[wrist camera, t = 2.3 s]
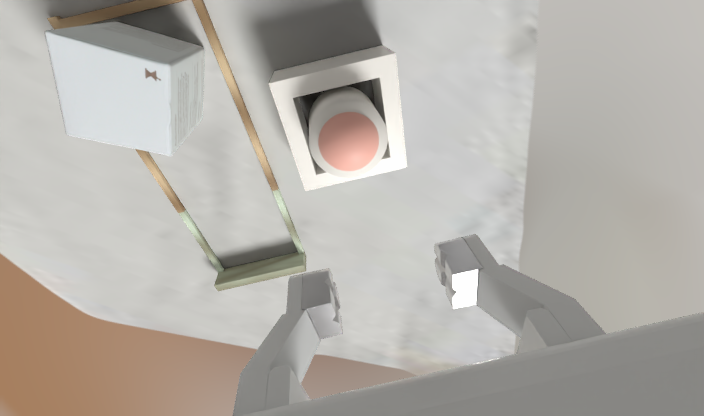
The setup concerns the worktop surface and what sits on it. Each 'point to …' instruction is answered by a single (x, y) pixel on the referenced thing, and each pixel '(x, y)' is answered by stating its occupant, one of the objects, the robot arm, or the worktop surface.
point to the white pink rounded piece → (346, 132)
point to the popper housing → (331, 75)
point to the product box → (127, 85)
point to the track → (281, 263)
